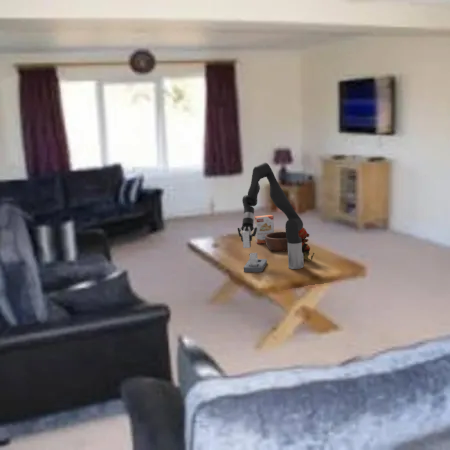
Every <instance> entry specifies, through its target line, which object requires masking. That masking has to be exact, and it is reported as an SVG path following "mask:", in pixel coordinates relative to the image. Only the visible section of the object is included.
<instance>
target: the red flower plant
mask: <svg viewBox="0 0 450 450" xmlns="http://www.w3.org/2000/svg"><path fill="white" fill-rule="evenodd" d="M298 234H299V237H301V239H302V253H303V260H307V261H308V262H311V261H312V260H313V259H314V255H315V252H312V255H311V256H310V250H311V246H310V245H309V243H308V242H309V239H308V238H310V233H309V232H308V231H307V229H306V228H305V227H303V228H302V229H301V230H300V231H298ZM309 256H310V258H309Z"/></svg>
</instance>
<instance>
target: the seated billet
mask: <svg viewBox="0 0 450 450" xmlns="http://www.w3.org/2000/svg"><path fill="white" fill-rule="evenodd" d="M249 259H250V267H258V259H259V257H258V252H250V253H249Z"/></svg>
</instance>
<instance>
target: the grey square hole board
mask: <svg viewBox="0 0 450 450" xmlns="http://www.w3.org/2000/svg"><path fill="white" fill-rule="evenodd" d="M267 261H268V259H267V258H258V267H250V258H249V259H248V260H247V261H246V264H245V265H244V266H243V273H262V272H263V270H264V269H265V267H266V265H267Z"/></svg>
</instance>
